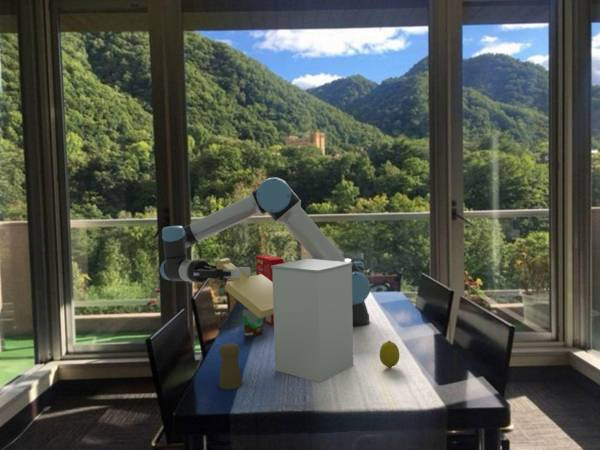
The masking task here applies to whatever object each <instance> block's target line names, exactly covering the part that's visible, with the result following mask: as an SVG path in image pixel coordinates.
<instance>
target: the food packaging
mask: <svg viewBox="0 0 600 450" xmlns="http://www.w3.org/2000/svg"><path fill="white" fill-rule="evenodd" d="M255 257H256V258H255V263H256V275H261V274H262V275H264V276H265V277H266V278H267V279H269V280H270V281H271V282H273V272H272V269H271V266H273V265H278V264H283V263H285V261H284V258H281V257H277V256H274V255H270V254H264V255H263V254H261V255H256V256H255ZM264 322H265V323H266V324H267V325H270V326H271V327H274V314H272V315H269V316H266V317H263V323H264Z"/></svg>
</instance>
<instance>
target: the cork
mask: <svg viewBox="0 0 600 450" xmlns="http://www.w3.org/2000/svg"><path fill="white" fill-rule="evenodd" d="M240 350H241V349H240V346H239V345H238V344H237V343H233V342H228V343H224V344H222V345H220V348H219V353H220V357H221V365H220V373H219V374H220V375H219V388H220V389H223V390H235V389H236V390H237V389H239V388H240V387H242V385H243V381H242V375H241V368H240V362H239V355H240Z"/></svg>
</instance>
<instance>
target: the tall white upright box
mask: <svg viewBox="0 0 600 450" xmlns="http://www.w3.org/2000/svg"><path fill="white" fill-rule="evenodd" d="M352 265H353V263H352V262H340V261H328V260H317V259H313V258H305V259H304V258H303V259H300V260H294V261H293V260H292V261H290V262H289V261H288V262H284V263H283V264H278V265H273V266H271V269H272V272H273V309H274V326H273V340H274V343H273V344H274V346H273V347H274V370H275V371H276V372H281V373H282V374H283V373H284V374H288V375H291V376H295V377H299V378H303V379H306V380H309V381H314V382H318V383H322V382H324V381H326V380H329V379H330V378H332V377H335V376H337V374H339V373H342V372H344V371H346V370H348V369H349V368H351V367H353V366H354V332H353V331H354V329H353V328H354V326H353V313H352Z"/></svg>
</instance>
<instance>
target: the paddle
mask: <svg viewBox="0 0 600 450" xmlns="http://www.w3.org/2000/svg"><path fill="white" fill-rule="evenodd" d="M235 265H236V264H234V263H232V262H231V259H230V258H229V257H225V258H220V259H218V261H217V264H216V265H215V266H216V268H217V269H222V270H223V271H224V269H238V268H237V267H236V266H235ZM228 279H229V280H230V281H226V282H225V286H224V287H223V288H224V291H226V292H227V293H228V294H230V296H232V297H234V299H236V300H237V301H238V302H239V303H241V304H242V305H243V306H244V307H245V308H246V309H247V308H248V309H249V310H250V311H251V312H253V313H254V314H255V315H256V316H257V317H259V318H263V317H266V316H269V315H272V314H274V309H273V282H271V281H270V280H269V279H267V278H266V277H265V276H264V275H262V274H261V275H257V274H256V275H251V276H247V275H246V274H245V273H243V272H242V271H241V270H240V278H228Z"/></svg>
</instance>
